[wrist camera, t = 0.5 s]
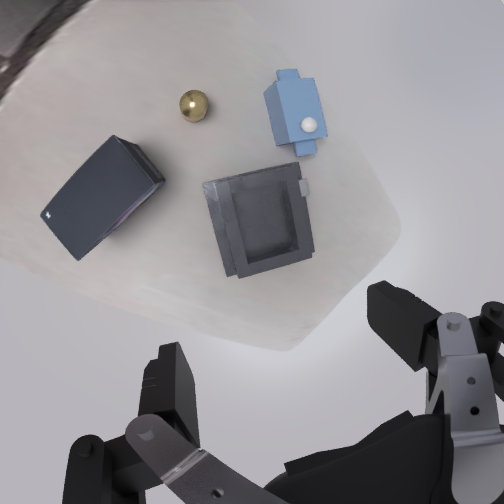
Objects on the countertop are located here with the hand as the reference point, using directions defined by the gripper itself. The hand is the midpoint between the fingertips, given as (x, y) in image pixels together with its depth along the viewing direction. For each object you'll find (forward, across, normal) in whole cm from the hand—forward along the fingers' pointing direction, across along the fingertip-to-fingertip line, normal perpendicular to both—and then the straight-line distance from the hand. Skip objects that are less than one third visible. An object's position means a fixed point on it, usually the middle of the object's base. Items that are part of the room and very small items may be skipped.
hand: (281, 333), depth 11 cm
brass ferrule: (+26, 0, -14) cm, 29 cm away
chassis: (+25, -5, +1) cm, 26 cm away
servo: (+26, -11, -11) cm, 30 cm away
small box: (+26, +11, -6) cm, 29 cm away
